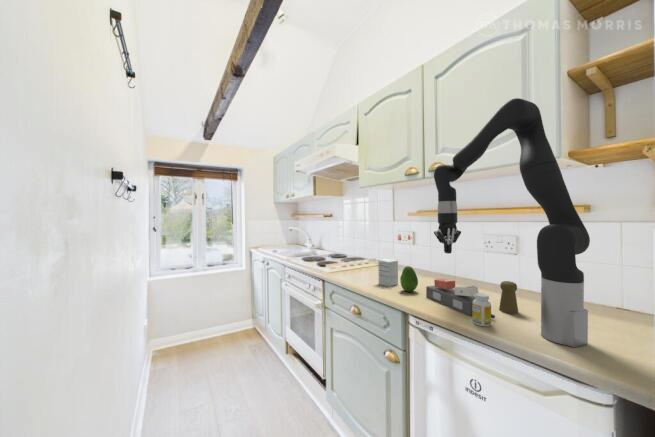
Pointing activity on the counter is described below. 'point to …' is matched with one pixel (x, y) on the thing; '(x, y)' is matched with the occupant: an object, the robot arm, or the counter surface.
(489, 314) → the supplement bottle
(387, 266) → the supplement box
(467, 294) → the rocker
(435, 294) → the power strip
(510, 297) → the cork
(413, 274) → the avocado
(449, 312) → the counter surface
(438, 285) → the rocker
